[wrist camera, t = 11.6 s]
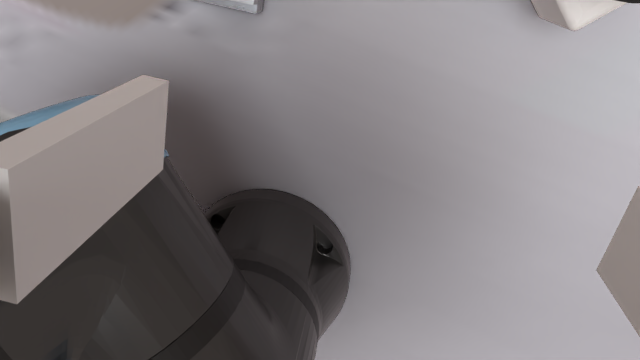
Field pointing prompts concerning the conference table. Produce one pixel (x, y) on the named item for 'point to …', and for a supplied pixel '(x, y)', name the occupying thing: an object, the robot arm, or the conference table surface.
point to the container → (576, 11)
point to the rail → (239, 4)
